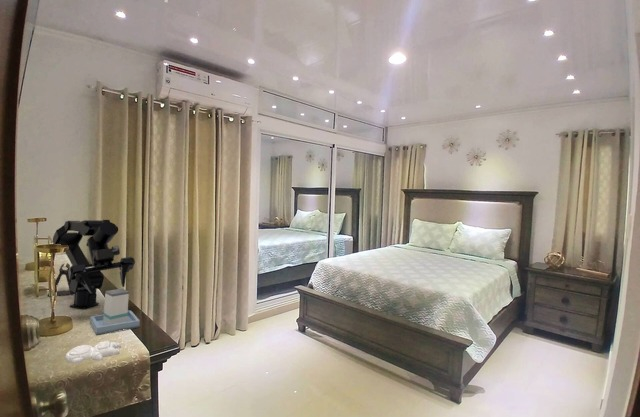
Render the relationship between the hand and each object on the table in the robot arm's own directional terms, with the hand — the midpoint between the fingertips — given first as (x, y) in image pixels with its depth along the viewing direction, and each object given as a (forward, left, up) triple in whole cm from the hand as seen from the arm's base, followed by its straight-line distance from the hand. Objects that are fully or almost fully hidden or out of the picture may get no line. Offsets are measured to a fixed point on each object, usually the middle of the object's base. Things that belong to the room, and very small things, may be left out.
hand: (108, 289), depth 107 cm
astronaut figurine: (+18, -20, -11) cm, 29 cm away
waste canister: (+7, -3, -9) cm, 12 cm away
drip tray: (+7, -3, -10) cm, 12 cm away
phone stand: (-37, +15, -10) cm, 41 cm away
